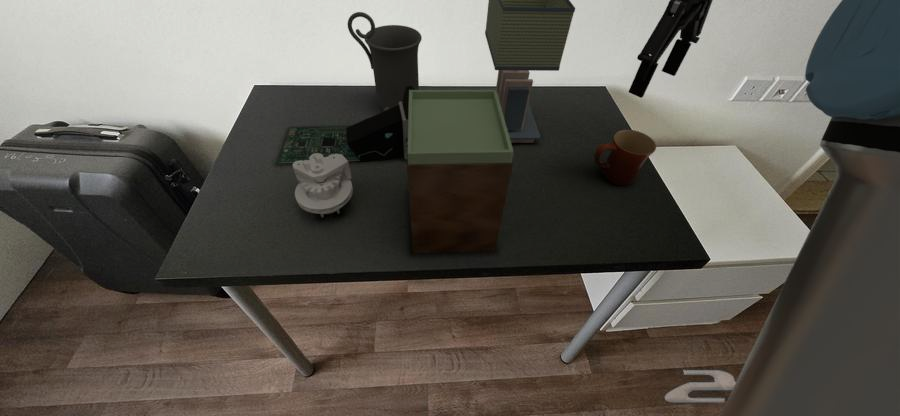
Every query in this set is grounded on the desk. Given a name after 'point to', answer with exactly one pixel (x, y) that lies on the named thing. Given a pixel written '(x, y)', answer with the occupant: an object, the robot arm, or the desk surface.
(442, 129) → the tray
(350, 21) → the mug
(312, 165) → the mechanical part
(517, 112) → the desk lamp
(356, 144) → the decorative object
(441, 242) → the plinth
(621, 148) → the mug
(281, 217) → the desk surface
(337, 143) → the circuit board
